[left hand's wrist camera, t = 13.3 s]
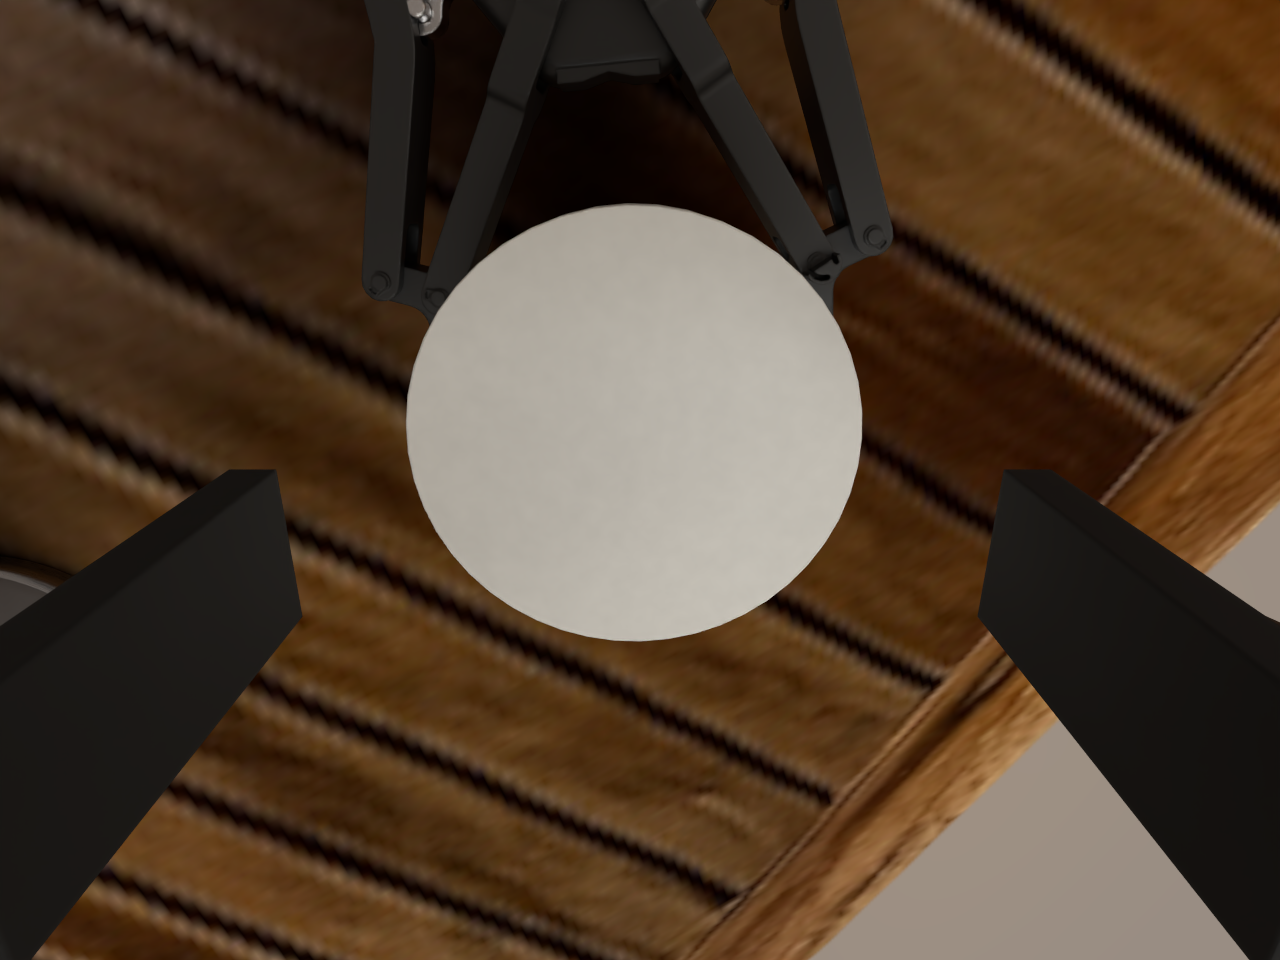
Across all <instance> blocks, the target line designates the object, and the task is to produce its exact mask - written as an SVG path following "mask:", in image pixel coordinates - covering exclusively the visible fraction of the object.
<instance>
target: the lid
mask: <svg viewBox="0 0 1280 960" xmlns="http://www.w3.org/2000/svg"><path fill="white" fill-rule="evenodd" d="M406 432H407V445H408V454H409V459H410V464H411V468H412V473H413V478H414V481H415V484H416V487H417V490H418V493H419V495H420V498H421V501H422V504H423V506H424V508H425V510H426V512H427V514H428V516H429V518H430V520H431V522H432V524H433V526H434V528H435V530H436V532H437V533H438V535H439V536H440V537H441V539H442V540H443V542H444V543H445V545H446V546H447V548H448V549H449V551H450V552H451V553H452V555H453V556H454V557H455V558H456V559H457V560H458V561H459V563H460V564H461V565H462V566H463V567H464V568H465V569H466V570H467V572H468V573H469V574H470V575H471V576H473V577H474V578H475V579H476V580H477V581H478V582H479V583H480V584H482V585H483V586H484V587H485V588H486V589H487V590H488V591H490V592H491V593H492V594H494V595H495V596H497V597H498V598H500V599H501V600H502V601H504V602H505V603H507V604H508V605H510V606H511V607H513V608H515V609H516V610H518V611H520V612H522V613H524V614H526V615H528V616H530V617H532V618H534V619H535V620H538V621H540V622H543V623H545V624H548V625H551V626H553V627H556V628H558V629H561V630H564V631H568V632H572V633H576V634H580V635H584V636H587V637H594V638H601V639H608V640H620V641H648V640H660V639H670V638H675V637H680V636H685V635H690V634H694V633H698V632H701V631H704V630H707V629H710V628H713V627H716V626H719V625H722V624H724V623H726V622H728V621H730V620H733V619H735V618H737V617H739V616H741V615H744V614H745V613H747V612H749V611H750V610H752V609H754V608H755V607H757V606H759V605H760V604H762V603H764V602H765V601H767V600H768V599H770V598H771V597H772V596H773V595H775V594H776V593H777V592H779V591H780V590H781V589H782V588H784V587H785V586H786V585H788V584H789V583H790V582H791V581H792V580H793V579H794V578H795V577H796V576H797V575H798V574H799V573H800V572H801V571H802V570H803V569H804V568H805V567H806V566H807V565H808V564H809V563H810V561H811V560H812V559H813V557H814V556H815V555H816V554H817V552H818V551H819V550H820V548H821V547H822V546H823V545H824V543H825V542H826V540H827V538H828V537H829V535H830V533H831V532H832V530H833V528H834V527H835V525H836V523H837V522H838V520H839V518H840V516H841V513H842V511H843V509H844V506H845V504H846V502H847V500H848V497H849V495H850V492H851V489H852V485H853V482H854V478H855V474H856V471H857V467H858V461H859V454H860V447H861V440H862V407H861V399H860V392H859V384H858V379H857V375H856V372H855V368H854V365H853V361H852V357H851V354H850V351H849V349H848V347H847V344H846V342H845V340H844V337H843V335H842V333H841V331H840V328H839V326H838V324H837V323H836V321H835V319H834V318H833V316H832V314H831V313H830V311H829V310H828V308H827V306H826V305H825V303H824V301H823V300H822V298H821V297H820V296H819V295H818V294H817V292H816V291H815V290H814V289H813V288H812V286H811V285H810V284H809V283H808V282H807V280H806V279H805V278H804V277H803V276H802V275H801V274H800V273H799V272H798V271H797V270H796V269H795V268H794V267H792V266H791V265H790V264H789V263H788V262H787V261H786V260H785V259H784V258H783V257H781V256H780V255H779V254H778V253H776V252H775V251H773V250H772V249H771V248H769V247H768V246H766V245H765V244H763V243H762V242H760V241H759V240H757V239H756V238H754V237H753V236H751V235H749V234H747V233H745V232H743V231H741V230H739V229H737V228H735V227H733V226H731V225H729V224H727V223H724V222H722V221H720V220H717V219H714V218H711V217H708V216H705V215H702V214H699V213H696V212H692V211H689V210H686V209H680V208H674V207H669V206H663V205H658V204H632V203H625V204H615V205H605V206H596V207H592V208H588V209H584V210H580V211H576V212H572V213H568V214H565V215H562V216H559V217H557V218H554V219H552V220H549V221H547V222H544V223H542V224H539V225H537V226H534V227H532V228H530V229H528V230H526V231H525V232H523V233H521V234H519V235H518V236H516V237H514V238H512V239H511V240H509V241H507V242H505V243H504V244H502V245H501V246H500V247H498V248H497V249H496V250H494V251H493V252H492V253H491V254H489V255H488V256H487V257H485V258H484V259H483V260H482V261H480V262H479V263H478V264H477V265H476V266H475V267H474V268H473V269H472V270H471V271H470V272H469V273H468V274H467V275H466V276H465V277H464V278H463V279H462V280H461V281H460V282H459V283H458V284H457V285H456V287H455V288H454V289H453V291H452V292H451V294H450V295H449V296H448V298H447V299H446V300H445V302H444V303H443V305H442V306H441V307H440V309H439V310H438V312H437V314H436V315H435V317H434V319H433V321H432V323H431V325H430V327H429V329H428V331H427V333H426V334H425V336H424V338H423V341H422V344H421V347H420V350H419V352H418V355H417V358H416V361H415V364H414V367H413V371H412V376H411V381H410V386H409V391H408V398H407V414H406Z"/></svg>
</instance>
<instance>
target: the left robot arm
mask: <svg viewBox="0 0 1280 960" xmlns="http://www.w3.org/2000/svg"><path fill="white" fill-rule="evenodd" d="M301 617H302V612H301V606H300V600H299V595H298V589H297V584H296V578H295V573H294V567H293V561H292V556H291V550H290V545H289V539H288V533H287V528H286V522H285V517H284V511H283V506H282V500H281V494H280V489H279V483H278V478H277V472H276V470H228V471H227V472H225V473H224V474H222V475H221V476H219V477H218V478H216V479H215V480H213V481H212V482H210V483H209V484H207V485H206V486H205V487H203V488H202V489H200V490H199V491H197V492H196V493H194V494H193V495H191V496H190V497H188V498H187V499H185V500H184V501H183V502H181V503H180V504H178V505H177V506H175V507H174V508H172V509H171V510H169V511H168V512H166V513H165V514H163V515H162V516H161V517H159V518H158V519H156V520H155V521H153V522H152V523H150V524H149V525H147V526H146V527H144V528H143V529H141V530H140V531H139V532H137V533H136V534H134V535H133V536H131V537H130V538H128V539H127V540H125V541H124V542H122V543H121V544H119V545H118V546H117V547H115V548H114V549H112V550H111V551H109V552H108V553H106V554H105V555H103V556H102V557H100V558H99V559H97V560H96V561H95V562H93V563H92V564H90V565H89V566H87V567H86V568H84V569H83V570H81V571H80V572H78V573H77V574H75V575H74V576H71V575H69V574H67V573H64V572H62V571H59V570H56V569H54V568H51V567H48V566H45V565H42V564H38V563H35V562H31V561H26V560H21V559H16V558H10V557H2V556H0V960H31V959H32V958H33V956H34V955H35V954H36V952H37V951H38V950H39V949H40V947H41V946H42V945H43V944H44V942H45V941H46V940H47V939H48V937H49V936H50V935H51V934H52V932H53V931H54V930H55V928H56V927H57V926H58V925H59V923H60V922H61V921H62V920H63V918H64V917H65V916H66V915H67V913H68V912H69V911H70V910H71V908H72V907H73V906H74V904H75V903H76V902H77V901H78V899H79V898H80V897H81V896H82V894H83V893H84V892H85V891H86V889H87V888H88V887H89V885H90V884H91V883H92V882H93V880H94V879H95V878H96V877H97V875H98V874H99V873H100V872H101V870H102V869H103V868H104V867H105V865H106V864H107V863H108V861H109V860H110V859H111V858H112V856H113V855H114V854H115V853H116V851H117V850H118V849H119V848H120V846H121V845H122V844H123V843H124V841H125V840H126V839H127V837H128V836H129V835H130V834H131V832H132V831H133V830H134V829H135V827H136V826H137V825H138V824H139V822H140V821H141V820H142V818H143V817H144V816H145V815H146V813H147V812H148V811H149V810H150V808H151V807H152V806H153V805H154V803H155V802H156V801H157V800H158V798H159V797H160V796H161V794H162V793H163V792H164V791H165V789H166V788H167V787H168V786H169V784H170V783H171V782H172V781H173V779H174V778H175V777H176V776H177V774H178V773H179V772H180V770H181V769H182V768H183V767H184V765H185V764H186V763H187V762H188V760H189V759H190V758H191V757H192V755H193V754H194V753H195V751H196V750H197V749H198V748H199V746H200V745H201V744H202V743H203V741H204V740H205V739H206V738H207V736H208V735H209V734H210V733H211V731H212V730H213V729H214V727H215V726H216V725H217V724H218V722H219V721H220V720H221V719H222V717H223V716H224V715H225V714H226V712H227V711H228V710H229V709H230V707H231V706H232V705H233V703H234V702H235V701H236V700H237V698H238V697H239V696H240V695H241V693H242V692H243V691H244V690H245V688H246V687H247V686H248V684H249V683H250V682H251V681H252V679H253V678H254V677H255V676H256V674H257V673H258V672H259V671H260V669H261V668H262V667H263V666H264V664H265V663H266V662H267V660H268V659H269V658H270V657H271V655H272V654H273V653H274V652H275V650H276V649H277V648H278V647H279V645H280V644H281V643H282V642H283V640H284V639H285V638H286V636H287V635H288V634H289V633H290V631H291V630H292V629H293V628H294V626H295V625H296V624H297V623H298V621H299V620H300V619H301ZM978 617H979V619H980V620H981V621H982V623H983V624H984V625H985V626H986V628H987V629H988V630H989V631H990V633H991V634H992V635H993V636H994V638H995V639H996V640H997V642H998V643H999V644H1000V645H1001V647H1002V648H1003V649H1004V650H1005V652H1006V653H1007V654H1008V655H1009V657H1010V658H1011V659H1012V660H1013V662H1014V663H1015V664H1016V666H1017V667H1018V668H1019V669H1020V671H1021V672H1022V673H1023V674H1024V676H1025V677H1026V678H1027V679H1028V681H1029V682H1030V683H1031V684H1032V686H1033V687H1034V688H1035V690H1036V691H1037V692H1038V693H1039V695H1040V696H1041V697H1042V698H1043V700H1044V701H1045V702H1046V703H1047V705H1048V706H1049V707H1050V709H1051V710H1052V711H1053V712H1054V714H1055V715H1056V716H1057V717H1058V719H1059V720H1060V721H1061V722H1062V724H1063V725H1064V726H1065V727H1066V729H1067V730H1068V731H1069V732H1070V734H1071V735H1072V736H1073V738H1074V739H1075V740H1076V741H1077V743H1078V744H1079V745H1080V746H1081V748H1082V749H1083V750H1084V751H1085V753H1086V754H1087V755H1088V757H1089V758H1090V759H1091V760H1092V762H1093V763H1094V764H1095V765H1096V767H1097V768H1098V769H1099V770H1100V772H1101V773H1102V774H1103V775H1104V777H1105V778H1106V779H1107V781H1108V782H1109V783H1110V784H1111V786H1112V787H1113V788H1114V789H1115V791H1116V792H1117V793H1118V794H1119V796H1120V797H1121V798H1122V799H1123V801H1124V802H1125V803H1126V805H1127V806H1128V807H1129V808H1130V810H1131V811H1132V812H1133V813H1134V815H1135V816H1136V817H1137V818H1138V820H1139V821H1140V822H1141V824H1142V825H1143V826H1144V827H1145V829H1146V830H1147V831H1148V832H1149V834H1150V835H1151V836H1152V837H1153V839H1154V840H1155V841H1156V843H1157V844H1158V845H1159V846H1160V848H1161V849H1162V850H1163V851H1164V853H1165V854H1166V855H1167V856H1168V858H1169V859H1170V860H1171V861H1172V863H1173V864H1174V865H1175V866H1176V868H1177V869H1178V870H1179V872H1180V873H1181V874H1182V875H1183V877H1184V878H1185V879H1186V880H1187V882H1188V883H1189V884H1190V885H1191V887H1192V888H1193V889H1194V891H1195V892H1196V893H1197V894H1198V896H1199V897H1200V898H1201V899H1202V901H1203V902H1204V903H1205V904H1206V906H1207V907H1208V908H1209V910H1210V911H1211V912H1212V913H1213V914H1214V916H1215V917H1216V918H1217V920H1218V921H1219V922H1220V923H1221V925H1222V926H1223V927H1224V928H1225V930H1226V931H1227V932H1228V934H1229V935H1230V936H1231V937H1232V939H1233V940H1234V941H1235V942H1236V944H1237V945H1238V946H1239V947H1240V949H1241V950H1242V951H1243V952H1244V954H1245V955H1246V956H1247V958H1248V959H1249V960H1280V622H1278V621H1276V620H1273V619H1271V618H1269V617H1267V616H1265V615H1263V614H1262V613H1260V612H1259V611H1257V610H1256V609H1254V608H1253V607H1251V606H1250V605H1248V604H1247V603H1246V602H1244V601H1243V600H1241V599H1240V598H1238V597H1237V596H1235V595H1234V594H1232V593H1231V592H1229V591H1228V590H1226V589H1225V588H1224V587H1222V586H1221V585H1219V584H1218V583H1216V582H1215V581H1213V580H1212V579H1210V578H1209V577H1207V576H1206V575H1205V574H1203V573H1202V572H1200V571H1199V570H1197V569H1196V568H1194V567H1193V566H1191V565H1190V564H1188V563H1187V562H1185V561H1184V560H1183V559H1181V558H1180V557H1178V556H1177V555H1175V554H1174V553H1172V552H1171V551H1169V550H1168V549H1166V548H1165V547H1163V546H1162V545H1161V544H1159V543H1158V542H1156V541H1155V540H1153V539H1152V538H1150V537H1149V536H1147V535H1146V534H1144V533H1143V532H1141V531H1140V530H1139V529H1137V528H1136V527H1134V526H1133V525H1131V524H1130V523H1128V522H1127V521H1125V520H1124V519H1122V518H1121V517H1119V516H1118V515H1117V514H1115V513H1114V512H1112V511H1111V510H1109V509H1108V508H1106V507H1105V506H1103V505H1102V504H1100V503H1099V502H1097V501H1096V500H1095V499H1093V498H1092V497H1090V496H1089V495H1087V494H1086V493H1084V492H1083V491H1081V490H1080V489H1078V488H1077V487H1075V486H1074V485H1073V484H1071V483H1070V482H1068V481H1067V480H1065V479H1064V478H1062V477H1061V476H1059V475H1058V474H1056V473H1055V472H1053V471H1052V470H1004V472H1003V478H1002V483H1001V489H1000V494H999V500H998V506H997V511H996V517H995V522H994V528H993V533H992V539H991V545H990V550H989V556H988V561H987V567H986V573H985V578H984V584H983V589H982V595H981V600H980V606H979V612H978Z"/></svg>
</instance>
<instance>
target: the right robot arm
mask: <svg viewBox="0 0 1280 960" xmlns="http://www.w3.org/2000/svg"><path fill="white" fill-rule="evenodd" d="M473 1H474V2H475V4H476V5H477V6H478V7H479V8H480V10H481V11H482V12H483V13H484V15H485V16H486V17H487V18H488V19H489V21H490V22H491V23H492V24H493V26H494V27H495V28H496V29H497V30H498V32H499V33H500V34H501V35H502V37H503V41H502V44H501V47H500V50H499V53H498V56H497V58H496V61H495V64H494V67H493V70H492V73H491V76H490V80H489V83H488V88H487V98H486V102H485V105H484V108H483V111H482V114H481V117H480V120H479V123H478V126H477V129H476V132H475V134H474V137H473V140H472V143H471V146H470V149H469V152H468V155H467V158H466V161H465V164H464V167H463V170H462V173H461V176H460V179H459V182H458V184H457V187H456V190H455V193H454V196H453V199H452V202H451V205H450V208H449V211H448V214H447V217H446V220H445V223H444V226H443V229H442V232H441V234H440V237H439V240H438V243H437V246H436V249H435V252H434V255H433V258H432V261H431V264H430V267H429V266H425V265H421V264H420V257H421V245H422V232H423V220H424V207H425V195H426V182H427V170H428V157H429V144H430V132H431V119H432V107H433V94H434V82H435V55H434V45H433V40H436V39H438V38H440V37H442V36H443V35H444V34H445V32H446V31H447V28H448V25H449V9H450V6H451V3H452V2H453V0H364V2H365V6H366V9H367V13H368V17H369V21H370V25H371V29H372V33H373V37H374V41H375V43H374V62H373V80H372V99H371V117H370V136H369V154H368V172H367V191H366V209H365V228H364V246H363V264H362V285H363V288H364V290H365V291H366V293H367V294H368V295H369V296H370V297H371V298H373V299H375V300H378V301H387V300H389V301H393V302H397V303H401V304H405V305H408V306H412V307H414V308H416V309H418V310H419V311H421V312H422V313H423V314H424V315H425V317H426V318H427V320H428V322H429V325H431V323H432V321H433V319H434V317H435V315H436V314H437V312H438V310H439V309H440V307H441V306H442V305H443V303H444V302H445V300H446V299H447V298H448V296H449V295H450V294H451V292H452V291H453V289H454V288H455V287H456V285H457V284H458V283H459V282H460V281H461V280H462V279H463V278H464V277H465V276H466V275H467V274H468V273H469V272H470V271H471V270H472V269H473V268H474V267H475V266H476V265H477V264H478V263H479V262H480V261H482V260H483V259H484V258H485V257H486V255H487V252H488V249H489V246H490V244H491V241H492V238H493V235H494V233H495V230H496V227H497V224H498V222H499V219H500V216H501V213H502V211H503V208H504V205H505V202H506V200H507V197H508V194H509V191H510V189H511V186H512V183H513V180H514V178H515V175H516V172H517V169H518V167H519V164H520V161H521V158H522V156H523V153H524V150H525V147H526V145H527V142H528V139H529V136H530V134H531V131H532V128H533V126H534V123H535V121H536V119H537V118H538V116H539V114H540V112H541V109H542V107H543V104H544V101H545V99H546V96H547V93H548V90H549V88H550V86H553V87H555V88H560V89H562V91H563V92H569V91H579V90H587V89H590V88H592V87H595V86H597V85H599V84H602V83H604V82H607V81H610V80H613V81H618V82H623V83H628V84H633V85H639V84H649V83H659V79H661V78H663V77H665V76H667V75H669V74H670V73H671V74H672V76H673V77H674V79H675V81H676V82H677V84H678V86H679V87H680V89H681V91H682V92H683V94H684V96H685V97H686V99H687V100H688V102H689V103H690V104H691V105H692V106H693V108H694V109H695V111H696V113H697V114H698V116H699V118H700V119H701V121H702V123H703V124H704V126H705V128H706V129H707V131H708V133H709V134H710V136H711V138H712V140H713V141H714V143H715V145H716V146H717V148H718V150H719V151H720V153H721V155H722V156H723V158H724V160H725V161H726V163H727V165H728V166H729V168H730V170H731V171H732V173H733V175H734V177H735V178H736V180H737V182H738V183H739V185H740V187H741V188H742V190H743V192H744V193H745V195H746V197H747V198H748V200H749V202H750V203H751V205H752V207H753V209H754V210H755V212H756V214H757V215H758V217H759V219H760V220H761V222H762V224H763V225H764V227H765V229H766V230H767V232H768V234H769V235H770V237H771V239H772V240H773V242H774V244H775V246H776V247H777V249H778V251H779V252H780V254H781V256H782V257H783V258H784V259H785V260H786V261H787V262H788V263H789V264H790V265H791V266H792V267H794V268H795V269H796V270H797V271H798V272H799V273H800V274H801V275H802V276H803V277H804V278H805V279H806V280H807V282H808V283H809V284H810V285H811V286H812V288H813V289H814V290H815V291H816V292H817V294H818V295H819V296H820V297H821V298H822V300H823V301H824V303H825V305H826V306H827V308H828V310H829V311H830V313H831V314H832V316H833V286H834V282H835V280H836V278H837V277H838V276H839V274H840V272H841V271H842V270H843V269H844V268H846V267H848V266H849V265H851V264H854V263H856V262H858V261H860V260H862V259H864V258H867V257H869V256H876V255H880V254H881V253H883V252H885V251H886V250H887V249H888V247H889V246H890V245H891V242H892V239H893V229H892V224H891V220H890V216H889V212H888V208H887V204H886V200H885V196H884V192H883V188H882V184H881V180H880V176H879V172H878V168H877V163H876V159H875V155H874V151H873V147H872V143H871V139H870V135H869V131H868V127H867V123H866V119H865V115H864V111H863V107H862V102H861V98H860V94H859V90H858V86H857V82H856V78H855V74H854V70H853V66H852V62H851V58H850V54H849V50H848V46H847V41H846V37H845V33H844V29H843V25H842V21H841V17H840V13H839V9H838V5H837V1H836V0H765V1H766V2H767V3H769V4H771V5H780V20H781V29H782V34H783V39H784V43H785V47H786V51H787V55H788V58H789V62H790V66H791V69H792V73H793V77H794V80H795V84H796V88H797V91H798V95H799V99H800V102H801V106H802V110H803V113H804V117H805V121H806V125H807V128H808V132H809V136H810V139H811V143H812V147H813V150H814V154H815V158H816V161H817V165H818V169H819V172H820V176H821V180H822V183H823V187H824V191H825V195H826V198H827V202H828V206H829V209H830V213H831V217H832V220H833V224H834V226H831V227H829V228H827V229H825V230H823V231H822V229H821V228H820V226H819V224H818V222H817V220H816V219H815V217H814V215H813V213H812V212H811V210H810V208H809V206H808V205H807V203H806V201H805V199H804V198H803V196H802V194H801V192H800V191H799V189H798V187H797V185H796V184H795V182H794V180H793V178H792V177H791V175H790V173H789V171H788V170H787V168H786V166H785V164H784V163H783V161H782V159H781V157H780V156H779V154H778V152H777V150H776V149H775V147H774V145H773V143H772V141H771V140H770V138H769V136H768V134H767V133H766V131H765V129H764V127H763V126H762V124H761V122H760V120H759V119H758V117H757V115H756V113H755V112H754V110H753V108H752V106H751V105H750V103H749V101H748V99H747V98H746V96H745V94H744V92H743V91H742V89H741V87H740V85H739V84H738V82H737V80H736V78H735V76H734V74H733V72H732V69H731V66H730V63H729V61H728V59H727V57H726V55H725V53H724V51H723V49H722V48H721V46H720V44H719V42H718V41H717V39H716V37H715V35H714V34H713V32H712V30H711V28H710V27H709V25H708V23H707V21H706V18H707V17H708V15H709V13H710V11H711V9H712V7H713V6H714V4H715V2H716V0H473Z"/></svg>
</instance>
